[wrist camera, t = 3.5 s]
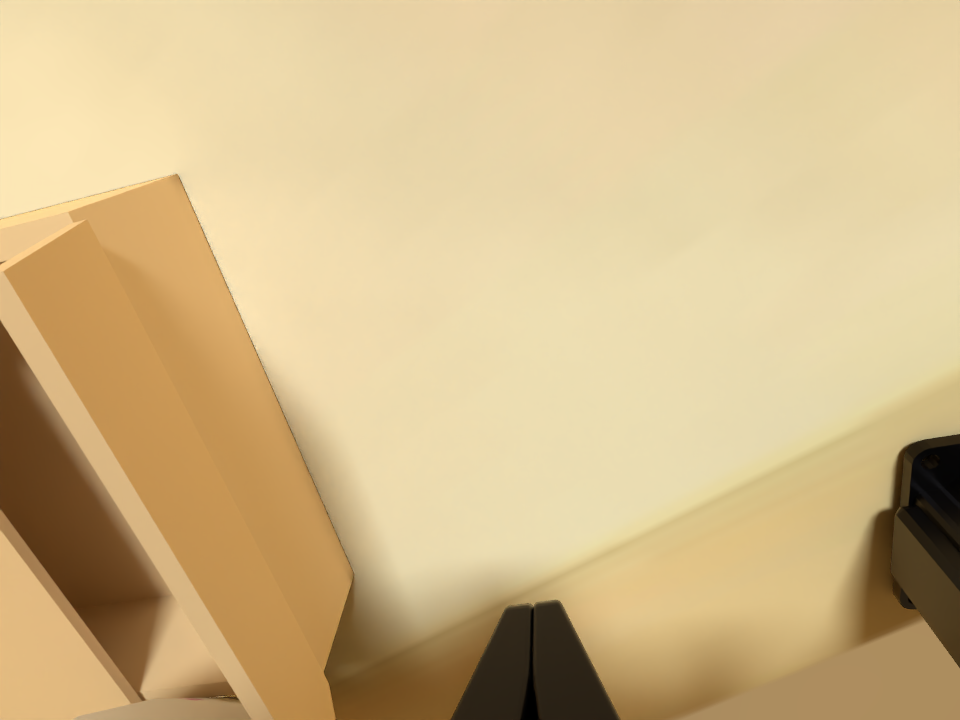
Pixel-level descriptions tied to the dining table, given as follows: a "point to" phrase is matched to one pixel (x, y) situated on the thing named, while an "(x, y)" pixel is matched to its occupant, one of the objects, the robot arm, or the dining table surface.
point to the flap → (157, 468)
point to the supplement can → (175, 710)
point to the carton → (95, 516)
